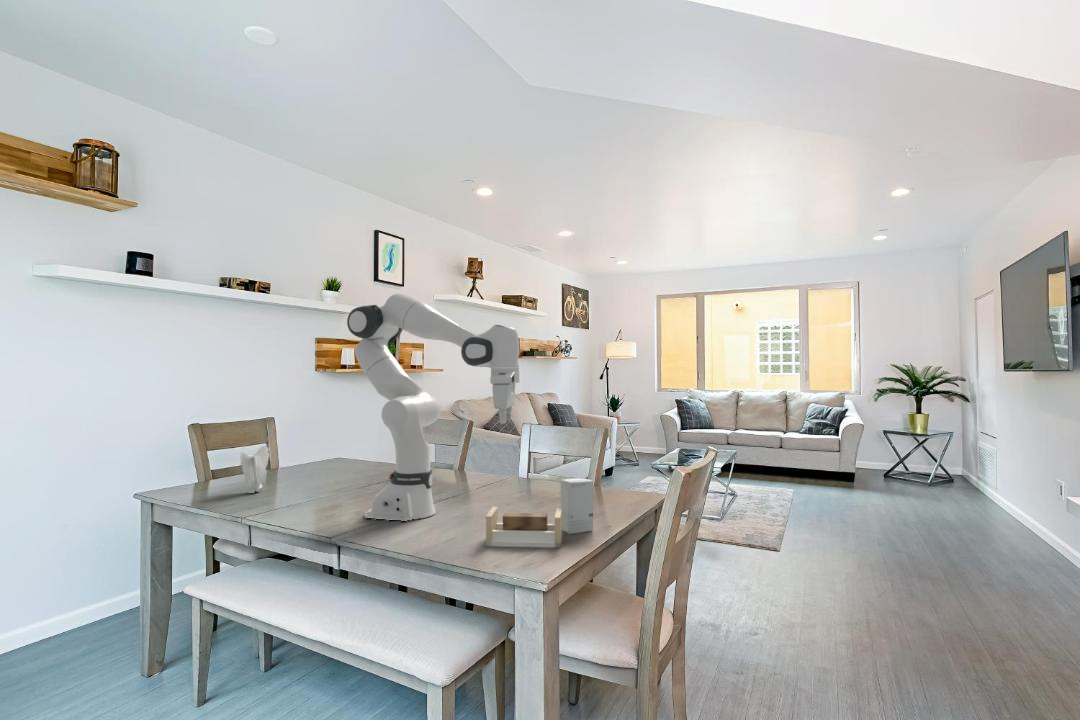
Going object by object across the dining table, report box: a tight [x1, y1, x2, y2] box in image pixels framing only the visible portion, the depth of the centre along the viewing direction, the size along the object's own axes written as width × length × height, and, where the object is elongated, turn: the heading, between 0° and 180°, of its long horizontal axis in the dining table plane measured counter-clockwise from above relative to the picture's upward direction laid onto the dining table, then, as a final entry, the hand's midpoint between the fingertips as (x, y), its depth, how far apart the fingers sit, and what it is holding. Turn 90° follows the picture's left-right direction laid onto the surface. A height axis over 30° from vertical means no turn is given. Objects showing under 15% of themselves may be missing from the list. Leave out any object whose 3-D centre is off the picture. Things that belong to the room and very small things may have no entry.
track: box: [485, 506, 563, 549], centre depth 151 cm, size 20×10×8 cm, turn 85°
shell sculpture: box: [239, 445, 270, 490], centre depth 212 cm, size 8×8×18 cm
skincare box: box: [560, 477, 594, 535], centre depth 161 cm, size 8×6×15 cm
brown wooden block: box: [502, 512, 548, 531], centre depth 151 cm, size 12×4×6 cm, turn 85°
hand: (505, 422), depth 169 cm, fingers open, 8 cm apart
